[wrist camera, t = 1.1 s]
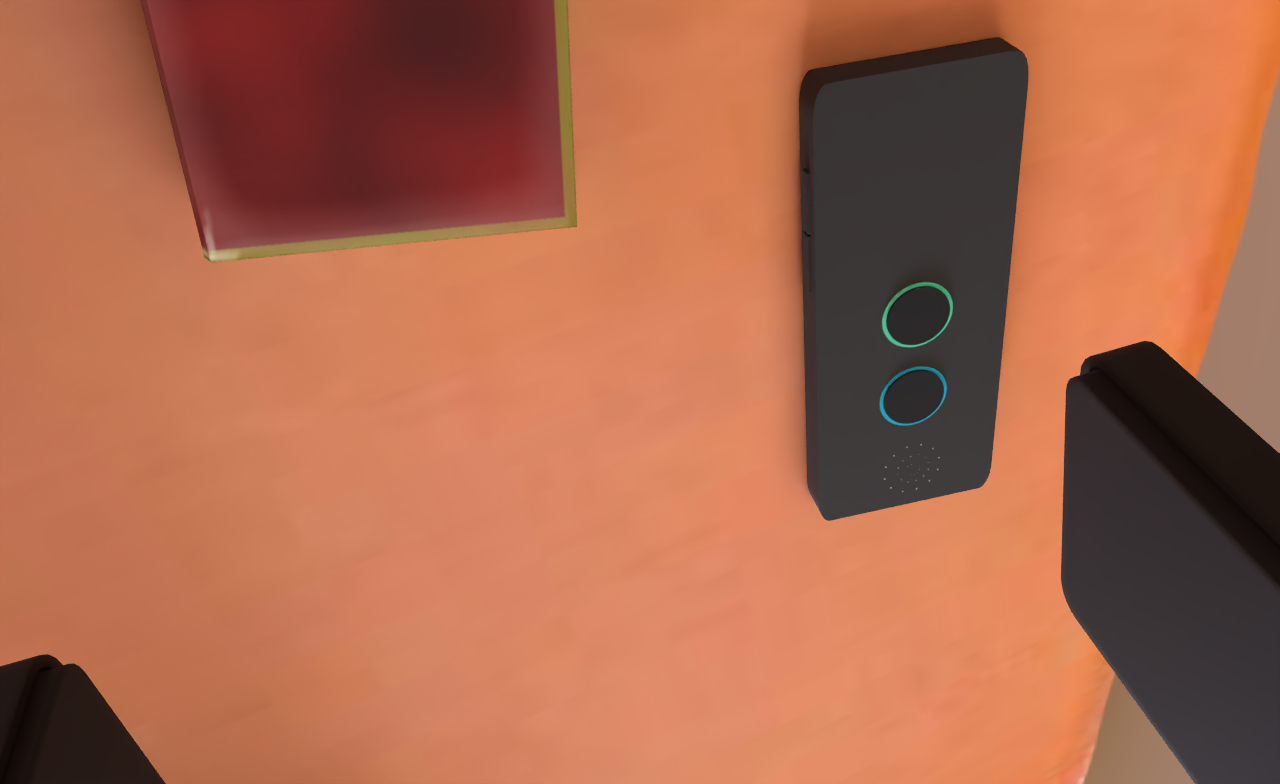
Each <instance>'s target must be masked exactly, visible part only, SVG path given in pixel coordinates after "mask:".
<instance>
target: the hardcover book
mask: <svg viewBox="0 0 1280 784" xmlns="http://www.w3.org/2000/svg"><path fill="white" fill-rule="evenodd" d="M141 3H142V7H143V11H144V15H145V19H146V23H147V27H148V31H149V35H150V39H151V43H152V47H153V51H154V55H155V59H156V63H157V67H158V71H159V75H160V80H161V84H162V88H163V92H164V96H165V100H166V104H167V108H168V112H169V116H170V120H171V124H172V128H173V132H174V136H175V140H176V144H177V148H178V152H179V156H180V160H181V164H182V168H183V172H184V176H185V180H186V184H187V188H188V192H189V196H190V200H191V204H192V208H193V212H194V216H195V220H196V224H197V228H198V233H199V237H200V241H201V245H202V249H203V253H204V257H205V258H206V259H207V260H209V261H210V262H220V261H231V260H241V259H251V258H261V257H272V256H282V255H292V254H303V253H313V252H323V251H333V250H344V249H354V248H364V247H374V246H385V245H395V244H405V243H416V242H426V241H436V240H446V239H457V238H467V237H477V236H488V235H498V234H508V233H518V232H529V231H539V230H549V229H559V228H570V227H577V213H576V190H575V167H574V144H573V121H572V98H571V75H570V52H569V29H568V6H567V0H141Z"/></svg>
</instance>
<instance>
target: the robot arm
mask: <svg viewBox="0 0 1280 784" xmlns="http://www.w3.org/2000/svg"><path fill="white" fill-rule="evenodd" d="M1061 582H1062V588H1063V592H1064V595H1065V598H1066V601H1067V603H1068V606H1069V608H1070V610H1071V612H1072V613H1073V615H1074V616H1075V618H1076V619H1077V621H1078V622H1079V624H1080V625H1081V626H1082V628H1083V629H1084V630H1085V632H1086V633H1087V635H1088V636H1089V637H1090V639H1091V640H1092V642H1093V643H1094V644H1095V646H1096V647H1097V648H1098V650H1099V651H1100V653H1101V654H1102V655H1103V657H1104V658H1105V660H1106V661H1107V662H1108V664H1109V665H1110V666H1111V668H1112V669H1113V671H1114V672H1115V673H1116V675H1117V676H1118V678H1119V679H1120V680H1121V682H1122V683H1123V684H1124V686H1125V687H1126V689H1127V690H1128V691H1129V693H1130V694H1131V696H1132V697H1133V698H1134V700H1135V701H1136V702H1137V704H1138V705H1139V706H1140V708H1141V709H1142V711H1143V712H1144V713H1145V715H1146V716H1147V718H1148V719H1149V720H1150V722H1151V723H1152V724H1153V726H1154V727H1155V729H1156V730H1157V731H1158V733H1159V734H1160V736H1161V737H1162V738H1163V740H1164V741H1165V743H1166V744H1167V745H1168V747H1169V748H1170V749H1171V751H1172V752H1173V753H1174V755H1175V756H1176V758H1177V759H1178V761H1179V762H1180V763H1181V765H1182V766H1183V767H1184V769H1185V770H1186V772H1187V773H1188V774H1189V776H1190V777H1191V779H1192V780H1193V781H1194V783H1195V784H1280V453H1278V452H1277V451H1276V450H1275V449H1273V448H1272V447H1271V446H1270V445H1269V444H1268V443H1267V442H1266V441H1265V440H1263V439H1262V438H1261V437H1260V436H1259V435H1258V434H1257V433H1256V432H1255V431H1253V430H1252V429H1251V428H1250V427H1249V426H1248V425H1246V423H1244V422H1243V421H1242V420H1241V419H1240V418H1239V417H1238V416H1237V415H1235V414H1234V413H1233V412H1232V411H1231V410H1230V409H1229V408H1228V407H1226V406H1225V405H1224V404H1223V403H1222V402H1221V401H1220V400H1219V399H1218V398H1216V397H1215V396H1214V395H1213V394H1212V393H1211V392H1210V391H1209V390H1207V389H1206V388H1205V387H1204V386H1203V385H1202V384H1201V383H1200V382H1198V381H1197V380H1196V379H1195V378H1194V377H1193V376H1192V375H1191V374H1190V373H1188V372H1187V371H1186V370H1185V369H1184V368H1183V367H1182V366H1181V365H1179V364H1178V363H1177V362H1176V361H1175V360H1174V359H1173V358H1172V357H1170V356H1169V355H1168V354H1167V353H1166V352H1165V351H1164V350H1163V349H1162V348H1160V347H1159V346H1157V345H1156V344H1154V343H1153V342H1148V341H1143V342H1139V343H1136V344H1132V345H1129V346H1125V347H1121V348H1118V349H1114V350H1111V351H1107V352H1104V353H1100V354H1097V355H1093V356H1090V357H1088V358H1087V359H1085V361H1084V362H1083V364H1082V366H1081V373H1080V376H1076V377H1073V378H1071V379H1070V380H1069V382H1068V384H1067V388H1066V412H1065V450H1064V487H1063V525H1062V563H1061ZM0 784H165V782H164V781H163V779H162V778H161V777H160V775H159V774H158V773H157V771H156V770H155V768H154V767H153V766H152V764H151V763H150V762H149V760H148V759H147V757H146V756H145V755H144V753H143V752H142V750H141V749H140V748H139V746H138V745H137V744H136V742H135V741H134V739H133V738H132V737H131V735H130V734H129V732H128V731H127V730H126V728H125V727H124V726H123V724H122V723H121V721H120V720H119V719H118V717H117V716H116V714H115V713H114V712H113V710H112V709H111V708H110V706H109V705H108V703H107V702H106V701H105V699H104V698H103V697H102V695H101V694H100V692H99V691H98V690H97V688H96V687H95V685H94V684H93V683H92V681H91V680H90V679H89V677H88V676H87V674H86V673H85V672H84V671H83V670H82V669H81V668H80V666H78V665H76V664H67V665H62V664H61V663H60V662H59V661H58V660H57V659H56V658H55V657H53V656H50V655H48V654H47V655H39V656H36V657H32V658H29V659H25V660H22V661H18V662H15V663H11V664H8V665H4V666H0Z"/></svg>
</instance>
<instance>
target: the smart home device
mask: <svg viewBox="0 0 1280 784" xmlns="http://www.w3.org/2000/svg"><path fill="white" fill-rule="evenodd" d="M1027 88H1028V64H1027V58H1026V57H1025V55H1024V53H1023V52H1022V51H1020V50H1019V49H1017V48H1016V47H1014V46H1012V45H1011V44H1009V43H1008V42H1006V41H1004V40H1003V39H1001V38H993V39H987V40H981V41H976V42H970V43H964V44H958V45H953V46H947V47H941V48H935V49H930V50H924V51H918V52H912V53H906V54H901V55H895V56H889V57H883V58H878V59H872V60H866V61H860V62H855V63H849V64H843V65H837V66H832V67H826V68H820V69H814V70H811V71H809V72H808V73H807V74H806V76H805V78H804V80H803V83H802V86H801V91H800V99H799V118H800V164H801V209H802V254H803V300H804V345H805V390H806V435H807V480H808V488H809V491H810V494H811V495H812V497H813V499H814V501H815V503H816V505H817V507H818V509H819V511H820V513H821V514H822V516H823V518H824V519H826V520H828V521H830V520H835V519H839V518H844V517H848V516H853V515H857V514H862V513H867V512H871V511H876V510H880V509H885V508H889V507H894V506H898V505H903V504H908V503H912V502H917V501H921V500H926V499H930V498H935V497H939V496H944V495H949V494H953V493H958V492H962V491H967V490H971V489H976V488H980V487H981V486H983V484H984V483H985V482H986V480H987V478H988V476H989V473H990V469H991V461H992V451H993V440H994V430H995V420H996V409H997V399H998V389H999V378H1000V368H1001V358H1002V347H1003V337H1004V326H1005V316H1006V306H1007V295H1008V285H1009V275H1010V264H1011V254H1012V244H1013V233H1014V223H1015V213H1016V202H1017V192H1018V181H1019V171H1020V161H1021V150H1022V140H1023V130H1024V119H1025V109H1026V99H1027Z"/></svg>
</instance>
